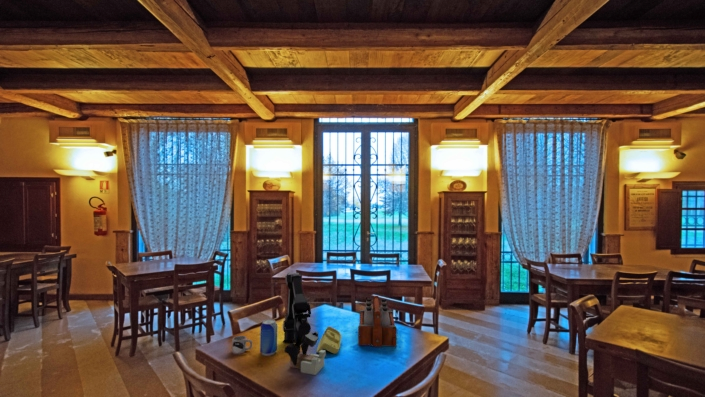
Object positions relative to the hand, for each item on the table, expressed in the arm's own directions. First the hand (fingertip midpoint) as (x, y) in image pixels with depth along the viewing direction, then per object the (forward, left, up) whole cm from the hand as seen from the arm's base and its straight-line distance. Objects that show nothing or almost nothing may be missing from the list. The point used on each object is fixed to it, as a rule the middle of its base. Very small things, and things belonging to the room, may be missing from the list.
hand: (299, 360), depth 151 cm
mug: (-36, +4, -3) cm, 36 cm away
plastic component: (+5, +25, -3) cm, 26 cm away
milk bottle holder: (+25, +49, -3) cm, 55 cm away
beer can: (-22, +7, -3) cm, 23 cm away
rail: (+2, 0, -3) cm, 3 cm away
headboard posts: (+6, 0, -2) cm, 6 cm away
